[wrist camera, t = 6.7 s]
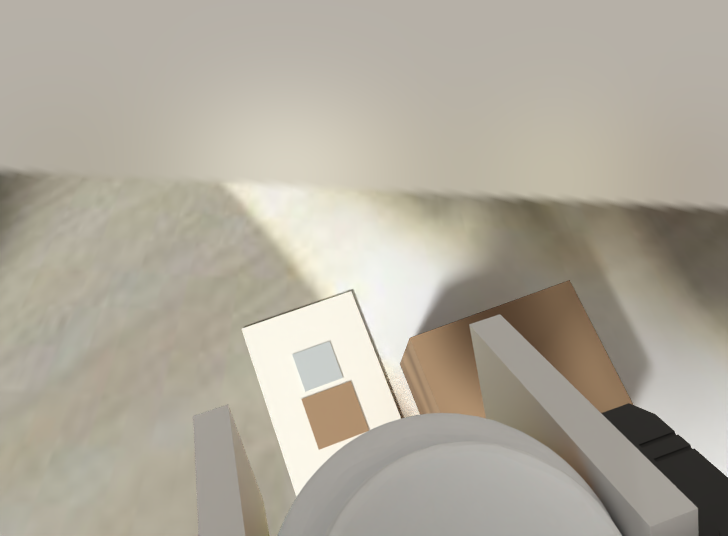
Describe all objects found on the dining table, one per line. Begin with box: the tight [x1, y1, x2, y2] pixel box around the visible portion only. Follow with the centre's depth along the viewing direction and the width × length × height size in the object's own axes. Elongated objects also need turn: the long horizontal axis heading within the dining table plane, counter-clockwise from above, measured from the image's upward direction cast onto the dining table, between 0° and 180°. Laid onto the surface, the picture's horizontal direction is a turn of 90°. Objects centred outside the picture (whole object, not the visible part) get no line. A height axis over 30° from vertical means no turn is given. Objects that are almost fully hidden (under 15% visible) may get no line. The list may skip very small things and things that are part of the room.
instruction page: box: [242, 291, 401, 497], centre depth 34 cm, size 6×9×1 cm, turn 21°
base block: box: [400, 280, 633, 418], centre depth 32 cm, size 8×8×5 cm
